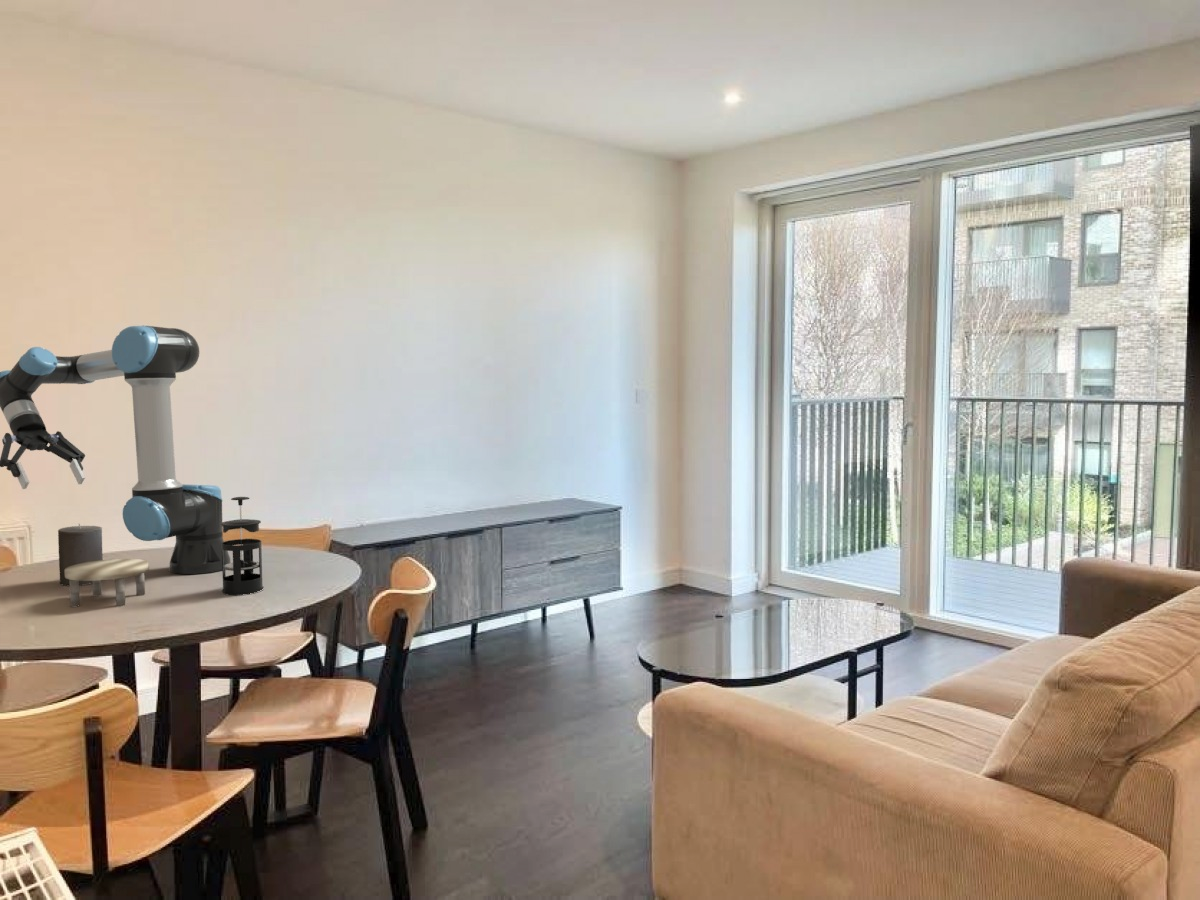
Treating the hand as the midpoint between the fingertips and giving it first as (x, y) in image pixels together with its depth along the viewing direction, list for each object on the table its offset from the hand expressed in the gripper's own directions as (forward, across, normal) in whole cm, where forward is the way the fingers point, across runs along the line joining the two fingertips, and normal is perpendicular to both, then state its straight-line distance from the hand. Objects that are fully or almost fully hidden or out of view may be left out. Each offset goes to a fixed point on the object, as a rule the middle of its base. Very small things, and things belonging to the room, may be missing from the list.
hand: (54, 483), depth 225 cm
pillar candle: (+25, -1, -9) cm, 27 cm away
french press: (+54, -17, +23) cm, 61 cm away
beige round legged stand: (+42, +6, +10) cm, 43 cm away
